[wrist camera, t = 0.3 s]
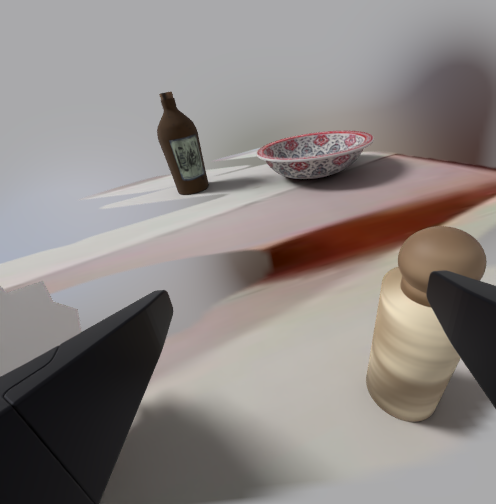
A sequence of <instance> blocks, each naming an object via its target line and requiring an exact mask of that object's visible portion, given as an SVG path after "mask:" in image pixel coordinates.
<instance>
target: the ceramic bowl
mask: <svg viewBox="0 0 496 504" xmlns="http://www.w3.org/2000/svg"><path fill="white" fill-rule="evenodd" d="M373 141H374V137H373V136H372V135H371V134H368V133H365V132H359V131H328V132H318V133H310V134H305V135H298V136H294V137H290V138H285V139H281V140H278V141H275V142H273V143H269V144H267V145H265V146H263V147H261V148H260V149H259V150H258V151H257V156H258V157H259V158H260V159H262V160H265V161H266V162H267V164H268V165H269V166H270V167H271V168H272V169H273V170H274V171H276V172H277V173H279V174H281V175H283V176H286V177H289V178H295V179H313V178H320V177H325V176H329V175H332V174H335V173H337V172H340V171H342V170H344V169H345V168H347V167H348V166H349V165H351V164H352V163H353V162H354V161H355V160H356V159H357V158H358V157H359V155H360V154H361V152H362V151H363V149H364V148H366V147H368V146H369V145H370V144H372V143H373Z"/></svg>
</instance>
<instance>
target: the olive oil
mask: <svg viewBox="0 0 496 504" xmlns="http://www.w3.org/2000/svg"><path fill="white" fill-rule="evenodd" d="M160 97H161V103H162V106H163V109H164V113H163V116H162V118H161V120H160V123H159V126H158V129H157V133H158V140H159V143H160V145H161V148H162V150H163V153H164V155H165V158H166V160H167V163H168V166H169V168H170V171H171V174H172V176H173V179H174V182H175V184H176V187H177V190H178V192H179V194H183V195H188V194H194V193H198V192H201V191H203V190H205V189H206V188H208V186H209V184H208V180H207V175H206V171H205V167H204V162H203V157H202V152H201V147H200V142H199V137H198V132H197V129H196V127H195V125H194V123H193V122H192V121H191V120H190V119H189V118H188V117H187V116H185V115H184V114H183V113H182V112H180V111H179V110H178V109H177V107H176V103H175V100H174V98H173V94H172V92H166V93H161V94H160Z"/></svg>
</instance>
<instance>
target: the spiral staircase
mask: <svg viewBox="0 0 496 504" xmlns="http://www.w3.org/2000/svg"><path fill="white" fill-rule="evenodd" d="M79 333H81V327H80V322H79V315H78V310H77V309H74V308H72V307H68V306H65V305H62V304H59V303H55V302H53V300H52V298H51V296H50V294H49V292H48V290H47V288H46V286H45V284H44V282H43V281H41V282H38V283H35V284H32V285H29V286H26V287H23V288H20V289H16V290H13V291H10V292H6V291H5V290H4V289H3V288H2V287H1V286H0V377H1V376H3V375H4V374H6V373H8V372H10V371H12V370H14V369H16V368H18V367H20V366H22V365H23V364H25V363H27V362H29V361H31V360H33V359H34V358H36V357H38V356H40V355H42V354H44V353H45V352H47V351H49V350H51V349H52V348H54V347H56V346H58V345H59V346H60V344H61V343H63V342H65V341H67V340H69V339H70V338H72V337H74V336H76V335H77V334H79Z"/></svg>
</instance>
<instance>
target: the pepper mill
mask: <svg viewBox="0 0 496 504" xmlns="http://www.w3.org/2000/svg"><path fill="white" fill-rule="evenodd" d="M398 266H399V267H396V268H394V269H392V270H390V271H389V272H387V273H386V274H385V276H384V278H383V280H382V286H381V292H380V298H379V304H378V310H377V316H376V322H375V328H374V334H373V340H372V346H371V352H370V358H369V365H368V371H367V377H366V384H367V388H368V391H369V393H370V395H371V397H372V398H373V400H374V401H375V402H376V404H377V405H378V406H379V407H380V408H382V409H383V410H384V411H385V412H387V413H388V414H390V415H392V416H394V417H395V418H398V419H401V420H404V421H410V422H417V421H422V420H425V419H427V418H429V417H430V416H431V415H432V414H433V412H434V410H435V409H436V407H437V405H438V403H439V400H440V398H441V396H442V394H443V392H444V390H445V388H446V386H447V384H448V382H449V380H450V378H451V376H452V374H453V372H454V370H455V368H456V366H457V364H458V362H459V360H460V358H461V357H460V356H459V355H458V353H457V352H456V350H455V349H454V347H453V346H452V344H451V343H450V341H449V339H448V337H447V336H446V334H445V332H444V330H443V328H442V326H441V325H440V323H439V321H438V319H437V317H436V315H435V313H434V311H433V310H432V308H431V306H430V304H429V302H428V300H427V296H426V292H427V286H428V281H429V276H430V273H431V272H433V271H442V270H447V271H451V272H454V273H457V274H460V275H463V276H466V277H469V278H472V279H475V280H478V281H480V280H481V278H482V276H483V275H484V272H485V269H486V255H485V253H484V250H483V248H482V246H481V245H480V243H479V242H478V241H477V240H476V239H475V238H474V237H472V236H471V235H470V234H468V233H466V232H464V231H462V230H459V229H456V228H452V227H444V226H437V227H430V228H426V229H423V230H421V231H418V232H416V233H415V234H413V235H412V236H410V237H409V238H408V239H407V240H406V241H405V243H404V244H403V245H402V247H401V249H400V252H399V255H398Z"/></svg>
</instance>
